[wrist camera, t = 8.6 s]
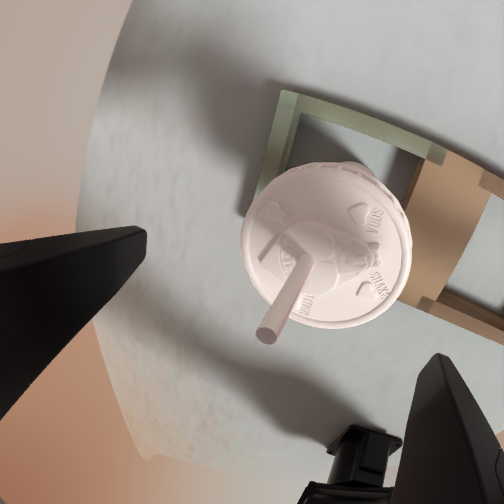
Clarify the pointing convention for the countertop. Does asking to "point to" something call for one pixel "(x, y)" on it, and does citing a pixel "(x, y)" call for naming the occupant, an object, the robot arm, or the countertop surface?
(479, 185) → the caddy
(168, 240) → the countertop surface
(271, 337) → the smoothie
